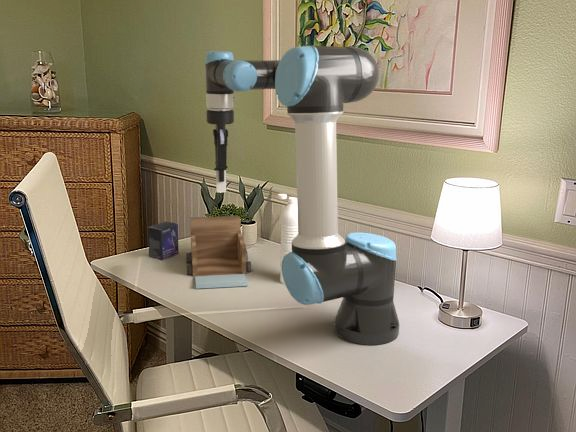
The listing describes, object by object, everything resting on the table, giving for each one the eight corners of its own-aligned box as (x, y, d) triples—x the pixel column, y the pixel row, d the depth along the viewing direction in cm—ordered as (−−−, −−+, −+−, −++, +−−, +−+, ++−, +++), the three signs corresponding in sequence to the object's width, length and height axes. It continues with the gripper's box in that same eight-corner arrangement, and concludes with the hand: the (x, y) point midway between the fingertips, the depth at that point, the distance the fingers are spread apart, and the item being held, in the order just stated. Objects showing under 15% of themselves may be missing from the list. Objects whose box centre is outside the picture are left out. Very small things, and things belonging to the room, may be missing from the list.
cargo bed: (251, 276, 178) (251, 233, 175) (187, 280, 175) (185, 236, 172) (245, 255, 196) (244, 215, 193) (186, 257, 193) (184, 217, 190)
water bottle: (308, 284, 174) (310, 197, 167) (291, 290, 169) (292, 201, 162) (286, 275, 180) (287, 192, 173) (270, 281, 175) (270, 195, 169)
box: (162, 263, 189) (160, 229, 186) (148, 259, 191) (146, 226, 188) (179, 256, 195) (178, 223, 192) (166, 252, 198) (164, 220, 195)
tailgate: (245, 277, 177) (248, 285, 169) (194, 279, 175) (195, 288, 166) (245, 273, 177) (248, 281, 169) (194, 275, 175) (195, 284, 166)
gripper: (236, 111, 166) (236, 197, 172) (231, 106, 178) (232, 186, 185) (207, 111, 164) (209, 197, 171) (205, 106, 177) (206, 186, 183)
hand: (221, 191), depth 178 cm, fingers closed
